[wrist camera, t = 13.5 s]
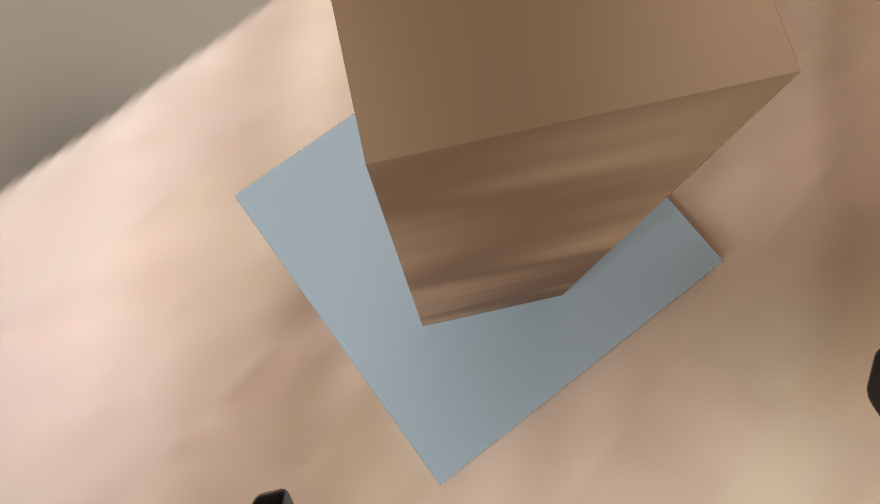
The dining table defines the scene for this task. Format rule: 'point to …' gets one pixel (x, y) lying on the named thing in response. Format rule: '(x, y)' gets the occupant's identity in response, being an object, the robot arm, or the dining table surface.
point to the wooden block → (542, 127)
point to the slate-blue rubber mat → (465, 339)
